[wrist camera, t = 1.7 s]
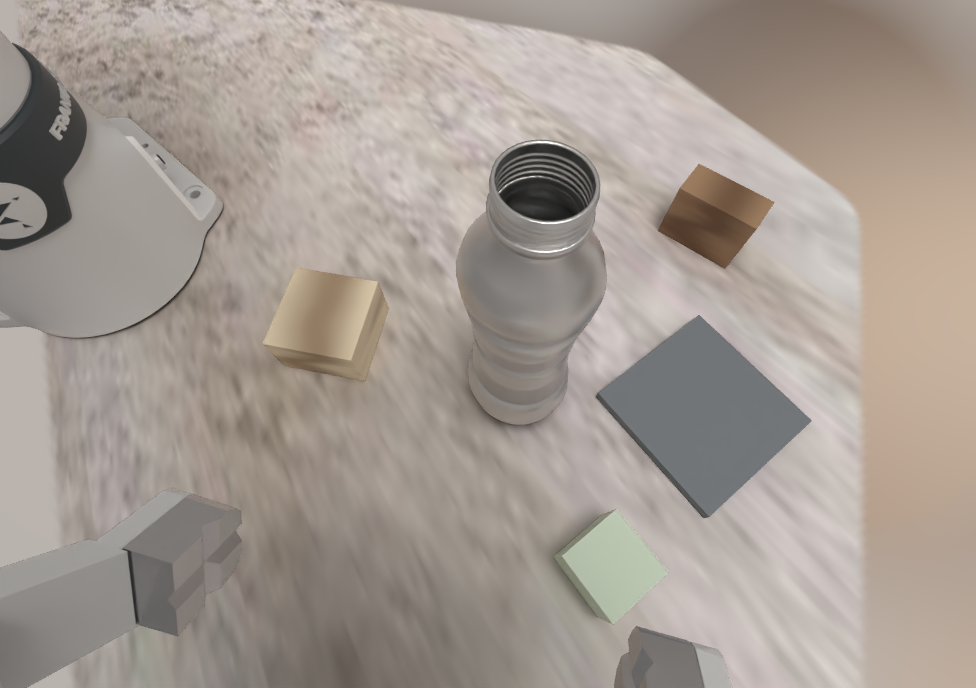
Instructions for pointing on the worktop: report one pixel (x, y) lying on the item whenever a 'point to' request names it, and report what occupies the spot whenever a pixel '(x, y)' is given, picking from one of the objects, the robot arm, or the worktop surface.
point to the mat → (703, 414)
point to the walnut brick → (714, 215)
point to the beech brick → (328, 324)
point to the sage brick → (610, 566)
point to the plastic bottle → (531, 277)
